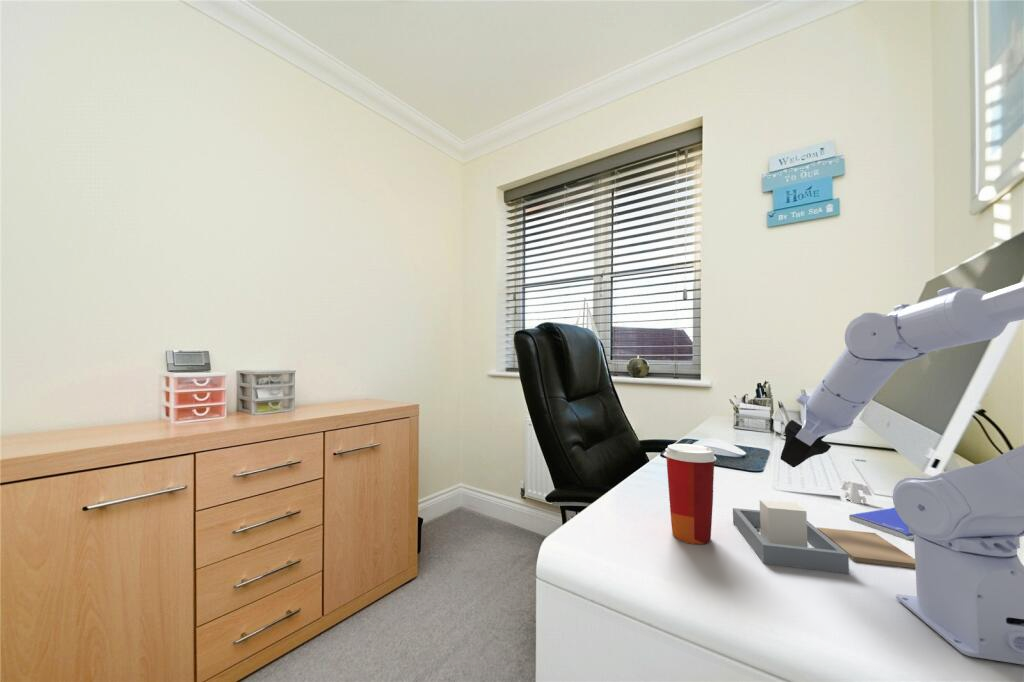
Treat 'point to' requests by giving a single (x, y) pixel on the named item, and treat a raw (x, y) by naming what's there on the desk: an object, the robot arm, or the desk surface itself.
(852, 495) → the clip
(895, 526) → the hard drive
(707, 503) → the paper cup
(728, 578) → the desk surface
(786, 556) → the tray
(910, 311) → the robot arm
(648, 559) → the desk surface
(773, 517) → the block
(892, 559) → the pad
